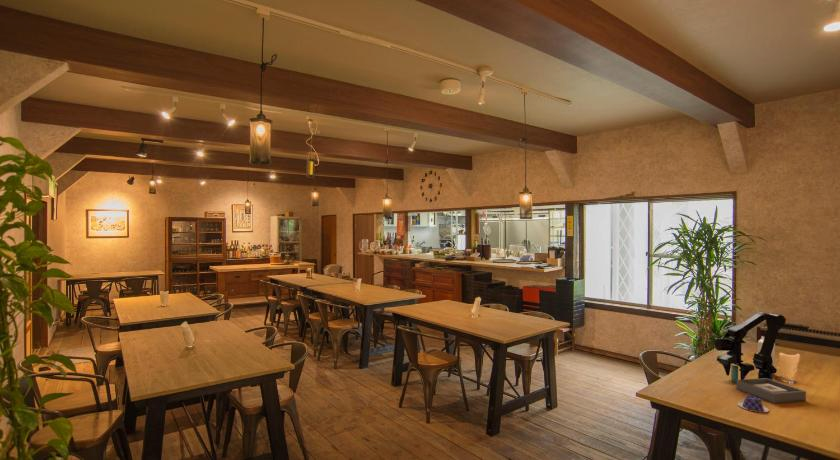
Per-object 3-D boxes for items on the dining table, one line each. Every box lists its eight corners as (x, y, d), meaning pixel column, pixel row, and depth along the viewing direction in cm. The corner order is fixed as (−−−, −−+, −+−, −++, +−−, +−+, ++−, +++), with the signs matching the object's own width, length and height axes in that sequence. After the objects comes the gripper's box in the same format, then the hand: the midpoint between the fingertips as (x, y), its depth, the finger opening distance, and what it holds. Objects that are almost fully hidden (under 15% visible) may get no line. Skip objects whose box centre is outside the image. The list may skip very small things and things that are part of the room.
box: (766, 387, 238) (766, 378, 238) (805, 401, 218) (805, 391, 218) (736, 389, 234) (736, 380, 234) (773, 404, 214) (773, 393, 214)
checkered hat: (759, 415, 201) (759, 404, 201) (732, 405, 212) (732, 394, 212) (774, 411, 206) (774, 400, 206) (746, 402, 217) (747, 391, 217)
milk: (767, 375, 257) (768, 338, 257) (757, 372, 263) (757, 336, 263) (774, 374, 259) (775, 338, 259) (764, 371, 265) (764, 335, 265)
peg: (734, 380, 247) (734, 365, 247) (739, 382, 244) (739, 366, 244) (729, 381, 247) (729, 365, 247) (734, 383, 244) (735, 367, 244)
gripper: (709, 346, 253) (708, 373, 253) (738, 355, 235) (738, 384, 235) (724, 346, 255) (724, 372, 255) (755, 355, 237) (755, 383, 237)
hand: (734, 378), depth 245 cm, fingers open, 8 cm apart
